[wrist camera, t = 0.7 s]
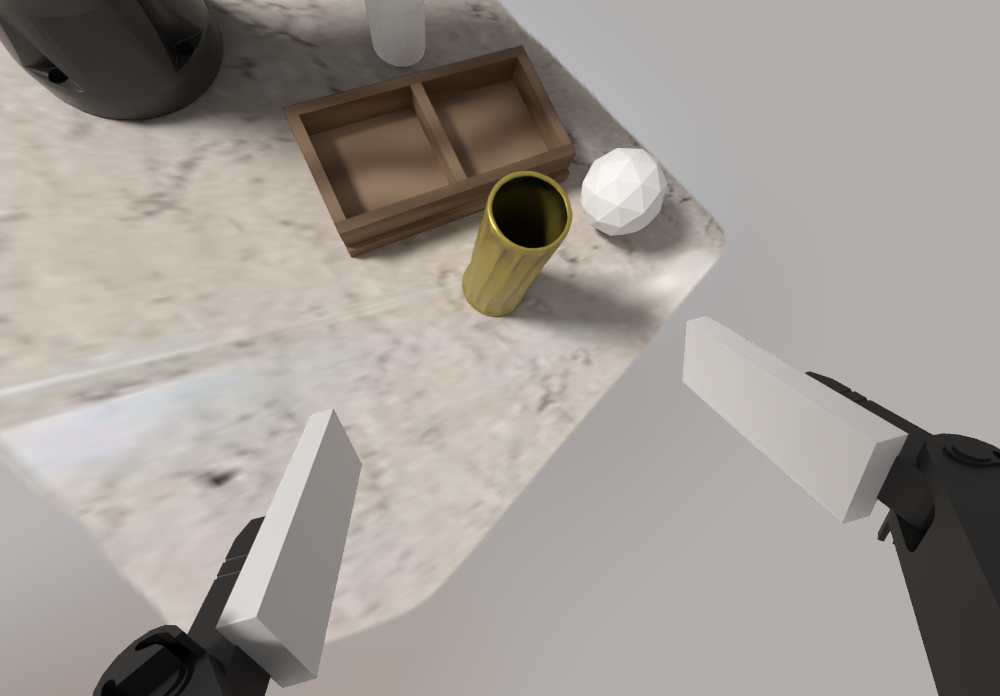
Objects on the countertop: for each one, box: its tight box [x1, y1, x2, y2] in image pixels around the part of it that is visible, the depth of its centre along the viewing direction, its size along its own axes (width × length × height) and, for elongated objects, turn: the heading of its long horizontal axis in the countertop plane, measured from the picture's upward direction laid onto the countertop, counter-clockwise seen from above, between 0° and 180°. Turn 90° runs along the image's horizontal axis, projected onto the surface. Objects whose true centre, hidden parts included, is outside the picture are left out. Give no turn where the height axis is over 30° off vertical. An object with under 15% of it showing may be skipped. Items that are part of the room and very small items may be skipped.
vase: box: [462, 171, 572, 316], centre depth 29 cm, size 6×6×14 cm
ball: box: [580, 148, 668, 236], centre depth 35 cm, size 8×8×8 cm
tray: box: [282, 46, 576, 257], centre depth 35 cm, size 13×23×4 cm, turn 116°
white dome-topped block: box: [365, 0, 426, 67], centre depth 34 cm, size 5×5×8 cm
